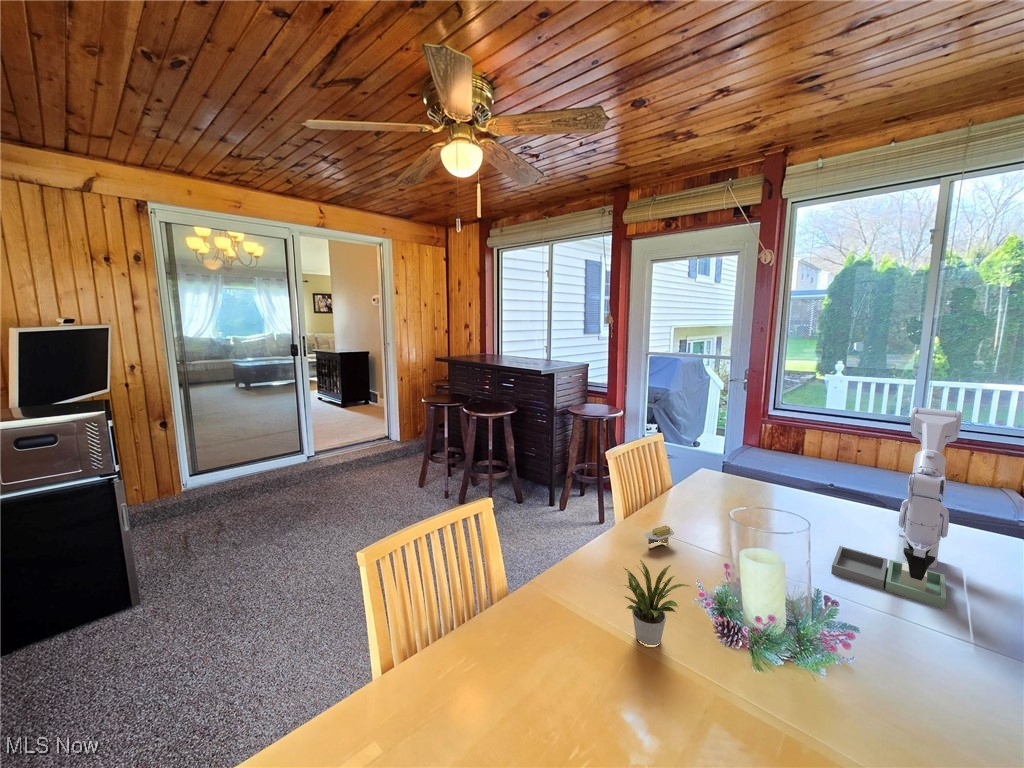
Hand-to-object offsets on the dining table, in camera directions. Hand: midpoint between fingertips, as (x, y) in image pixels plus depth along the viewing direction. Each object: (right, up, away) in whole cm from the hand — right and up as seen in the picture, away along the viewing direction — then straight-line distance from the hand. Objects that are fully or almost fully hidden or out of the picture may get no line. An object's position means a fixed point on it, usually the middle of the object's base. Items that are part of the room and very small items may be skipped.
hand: (916, 571), depth 108 cm
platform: (-57, -3, +24) cm, 62 cm away
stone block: (0, -4, +1) cm, 4 cm away
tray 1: (-8, -4, +8) cm, 12 cm away
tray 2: (0, -5, +1) cm, 5 cm away
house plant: (-72, -8, -15) cm, 73 cm away
